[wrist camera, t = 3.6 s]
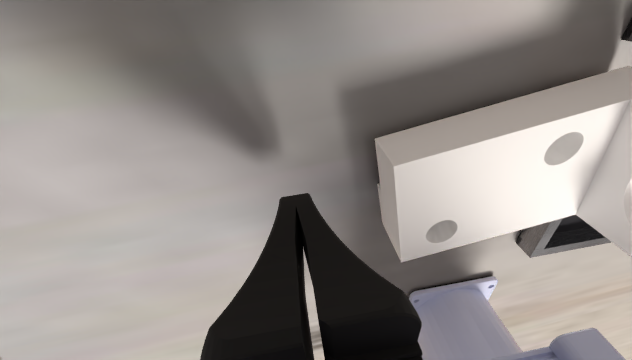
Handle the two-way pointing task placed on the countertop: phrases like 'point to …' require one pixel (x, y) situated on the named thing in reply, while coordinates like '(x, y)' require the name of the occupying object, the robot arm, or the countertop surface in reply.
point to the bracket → (512, 168)
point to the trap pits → (562, 226)
